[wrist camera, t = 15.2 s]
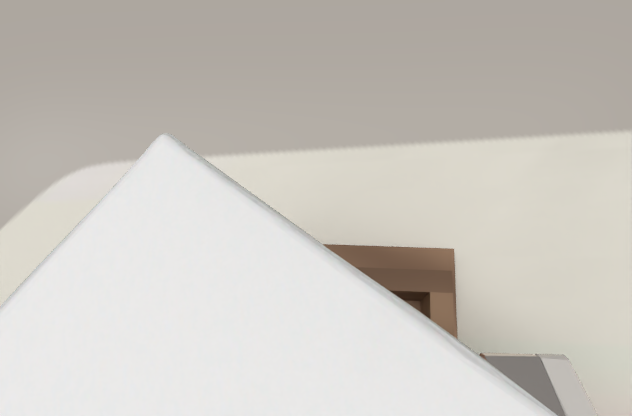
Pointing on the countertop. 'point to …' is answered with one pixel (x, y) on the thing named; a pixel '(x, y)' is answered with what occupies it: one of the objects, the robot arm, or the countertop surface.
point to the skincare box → (223, 317)
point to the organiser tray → (411, 277)
